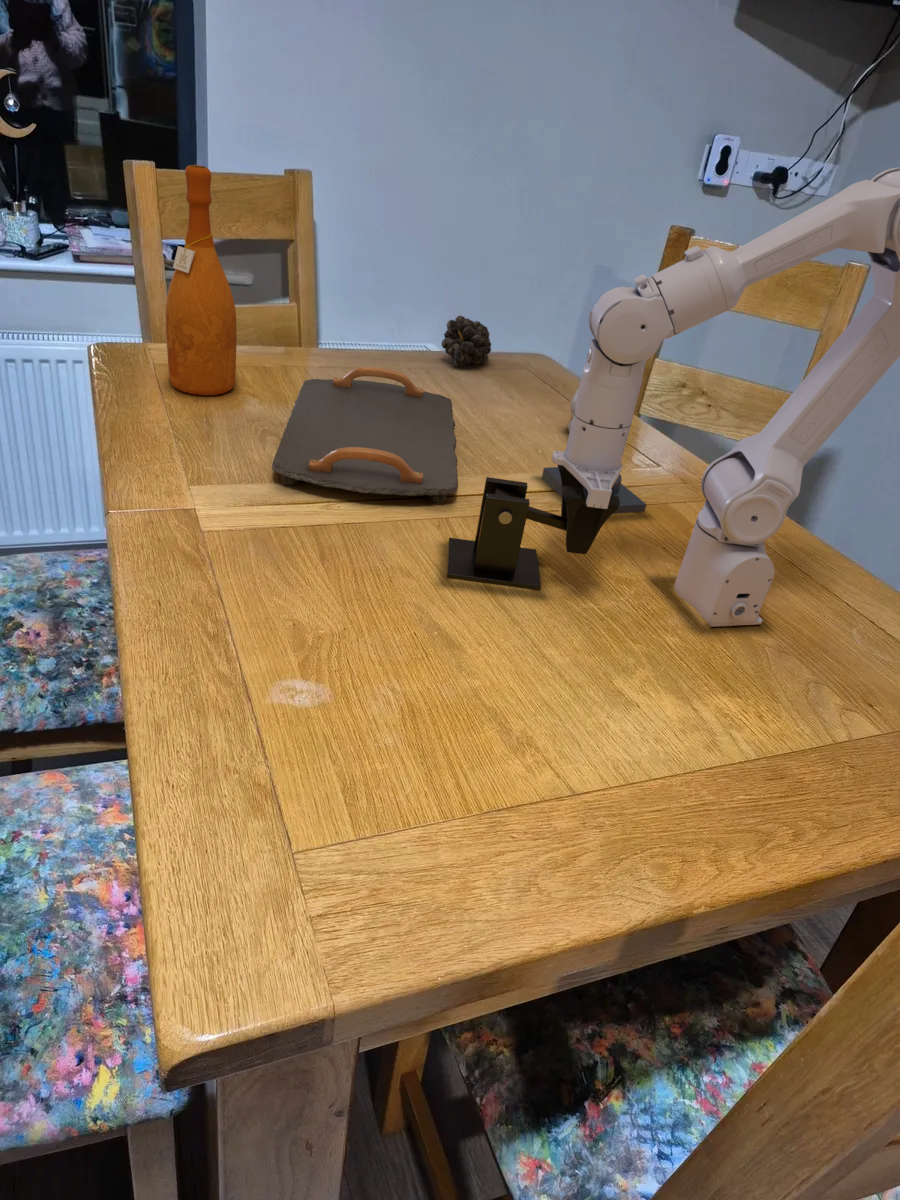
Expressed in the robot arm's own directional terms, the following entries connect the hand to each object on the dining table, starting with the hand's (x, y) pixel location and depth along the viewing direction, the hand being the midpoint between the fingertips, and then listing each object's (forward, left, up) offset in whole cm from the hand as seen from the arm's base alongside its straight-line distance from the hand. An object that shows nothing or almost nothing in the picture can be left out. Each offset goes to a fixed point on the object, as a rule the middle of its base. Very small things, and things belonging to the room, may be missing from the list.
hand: (573, 538), depth 89 cm
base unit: (+20, -12, -5) cm, 24 cm away
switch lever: (+1, +4, +1) cm, 5 cm away
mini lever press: (+2, +8, -5) cm, 9 cm away
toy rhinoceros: (+43, -21, -5) cm, 49 cm away
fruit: (+79, -9, -2) cm, 80 cm away
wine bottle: (+56, +37, -5) cm, 67 cm away
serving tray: (+35, +15, -5) cm, 38 cm away
